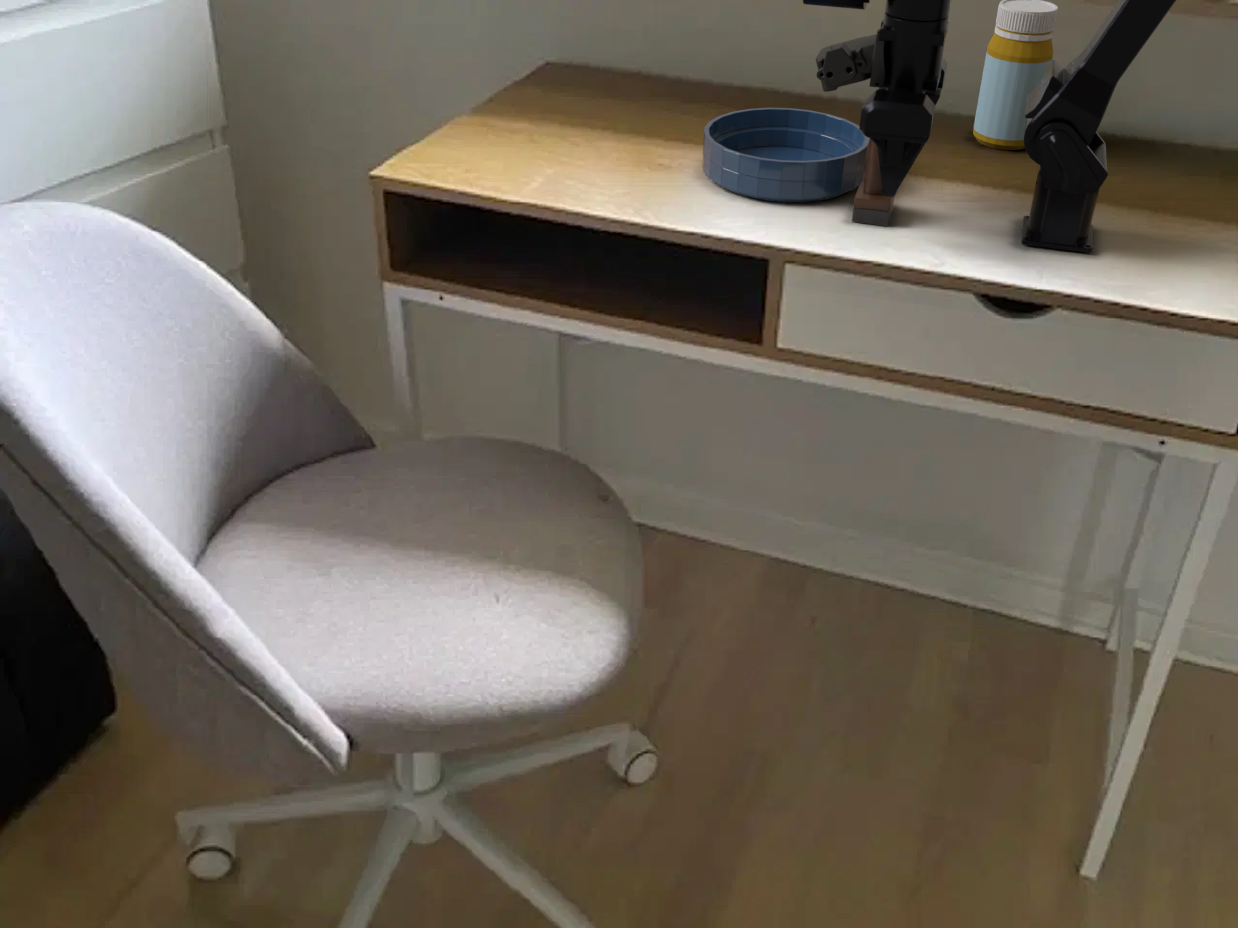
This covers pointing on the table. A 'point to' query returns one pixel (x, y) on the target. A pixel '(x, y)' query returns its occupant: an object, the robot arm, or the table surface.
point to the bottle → (1013, 70)
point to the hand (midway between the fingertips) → (893, 179)
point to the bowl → (784, 154)
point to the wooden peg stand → (872, 194)
